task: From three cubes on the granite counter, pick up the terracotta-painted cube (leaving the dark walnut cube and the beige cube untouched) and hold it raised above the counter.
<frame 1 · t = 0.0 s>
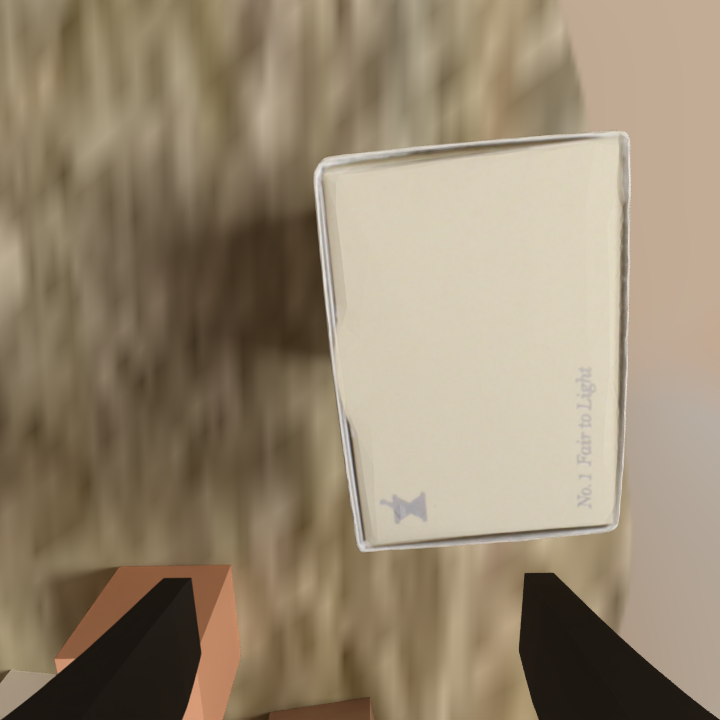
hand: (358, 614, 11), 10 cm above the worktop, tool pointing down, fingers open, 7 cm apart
terracotta cube: (182, 610, 23), on the worktop
beige cube: (66, 713, 25), on the worktop
skincare box: (410, 277, 19), on the worktop
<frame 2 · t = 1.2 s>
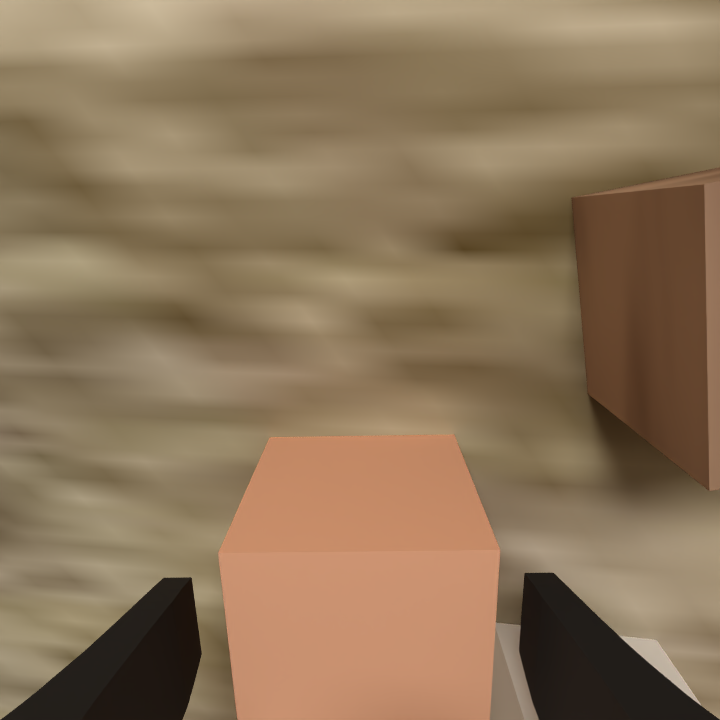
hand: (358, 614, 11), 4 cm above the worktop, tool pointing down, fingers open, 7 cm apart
terracotta cube: (363, 515, 14), on the worktop
walnut cube: (680, 280, 13), on the worktop
beige cube: (556, 692, 16), on the worktop
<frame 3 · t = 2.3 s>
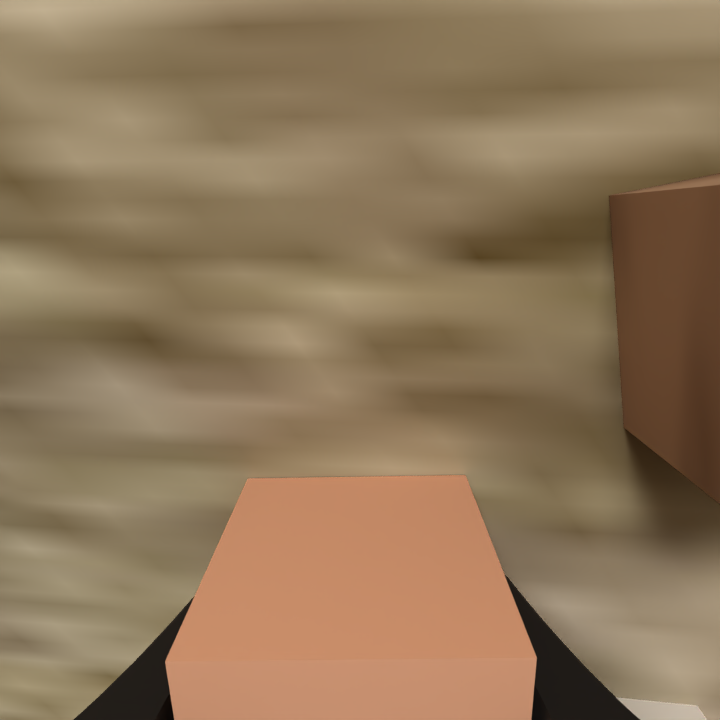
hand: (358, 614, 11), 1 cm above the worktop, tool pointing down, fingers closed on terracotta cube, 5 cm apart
terracotta cube: (358, 569, 12), on the worktop, touching gripper
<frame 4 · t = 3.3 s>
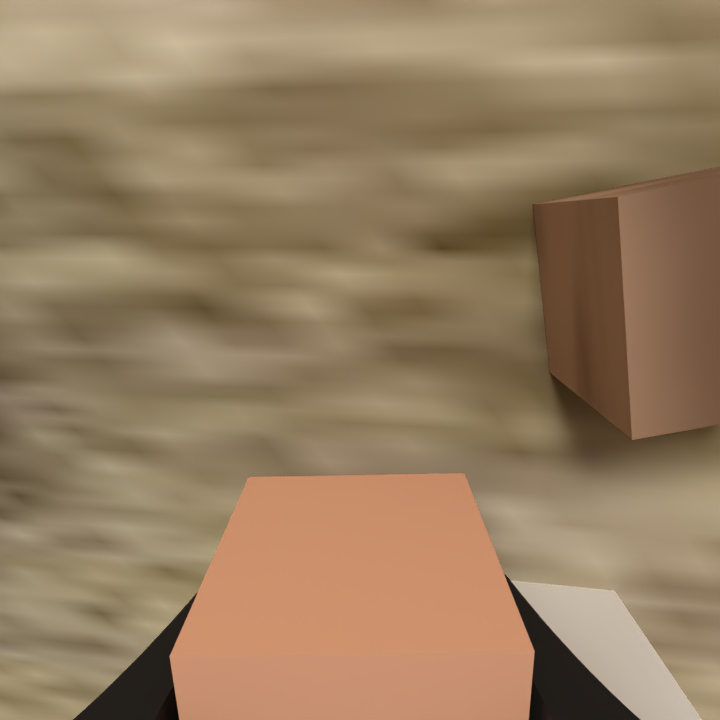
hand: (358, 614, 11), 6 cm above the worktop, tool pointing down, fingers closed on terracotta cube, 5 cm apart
terracotta cube: (358, 567, 12), point 4 cm above the worktop, touching gripper
walnut cube: (626, 275, 15), on the worktop
beige cube: (528, 640, 18), on the worktop
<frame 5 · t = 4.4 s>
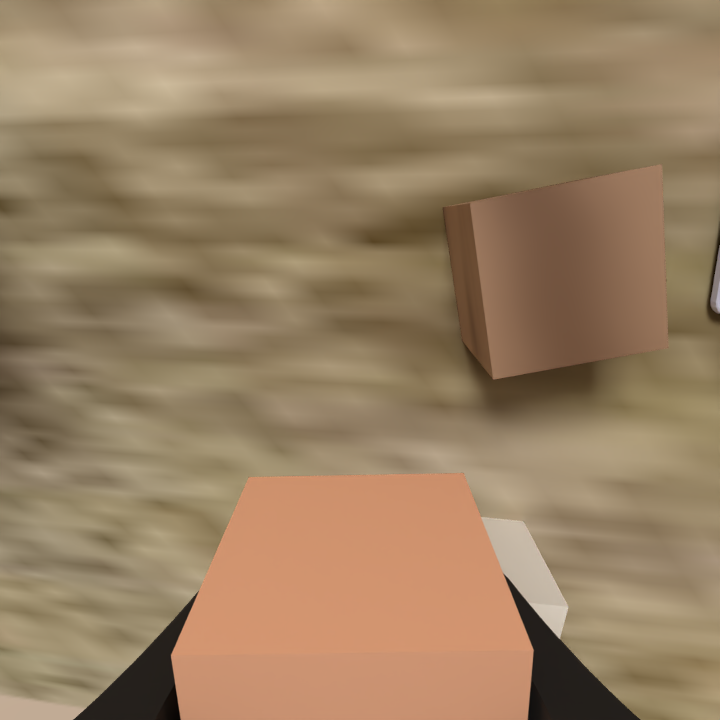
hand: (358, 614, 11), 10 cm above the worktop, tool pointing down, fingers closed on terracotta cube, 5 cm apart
terracotta cube: (358, 566, 12), point 8 cm above the worktop, touching gripper
walnut cube: (519, 263, 19), on the worktop
beige cube: (455, 564, 22), on the worktop
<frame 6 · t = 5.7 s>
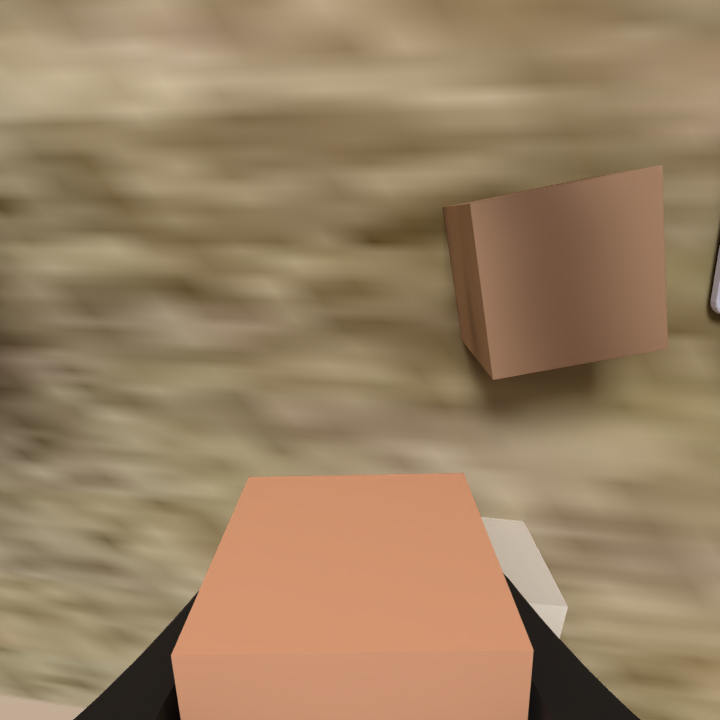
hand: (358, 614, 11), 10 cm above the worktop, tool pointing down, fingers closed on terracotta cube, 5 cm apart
terracotta cube: (358, 566, 12), point 8 cm above the worktop, touching gripper
walnut cube: (519, 263, 19), on the worktop
beige cube: (455, 564, 22), on the worktop
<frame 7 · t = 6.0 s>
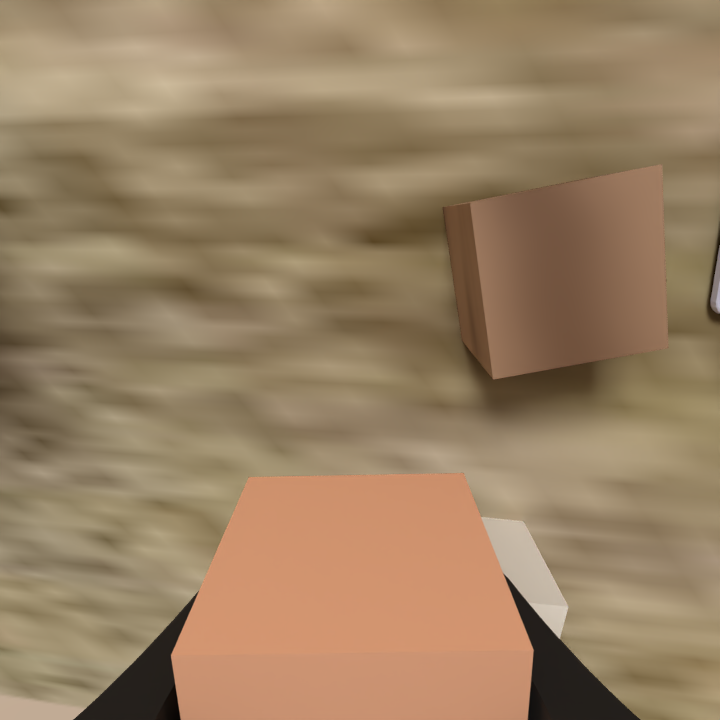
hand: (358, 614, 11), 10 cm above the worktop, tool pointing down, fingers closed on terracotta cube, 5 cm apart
terracotta cube: (358, 566, 12), point 8 cm above the worktop, touching gripper
walnut cube: (519, 263, 19), on the worktop
beige cube: (455, 564, 22), on the worktop
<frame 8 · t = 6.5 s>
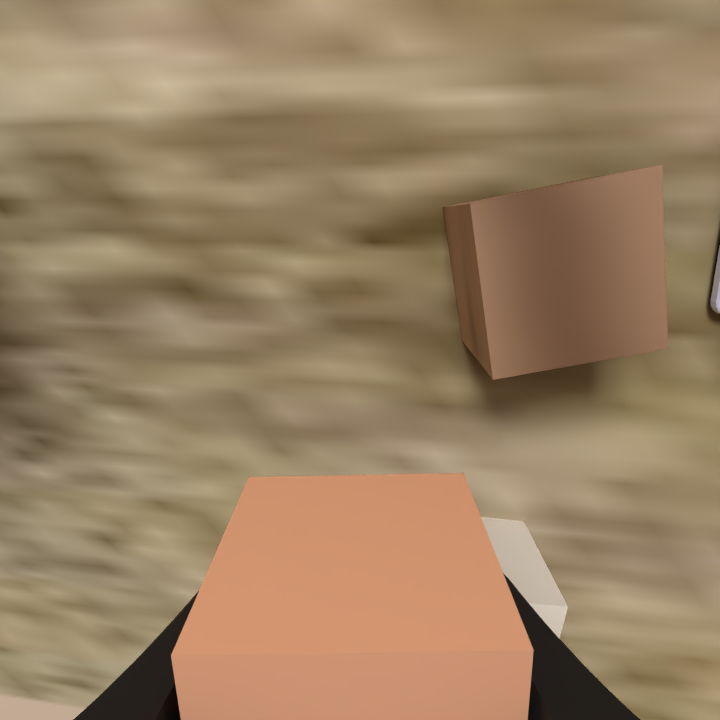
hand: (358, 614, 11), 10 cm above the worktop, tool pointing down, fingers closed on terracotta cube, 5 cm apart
terracotta cube: (358, 566, 12), point 8 cm above the worktop, touching gripper
walnut cube: (519, 263, 19), on the worktop
beige cube: (455, 564, 22), on the worktop
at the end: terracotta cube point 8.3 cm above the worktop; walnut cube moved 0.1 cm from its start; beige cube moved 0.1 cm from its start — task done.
